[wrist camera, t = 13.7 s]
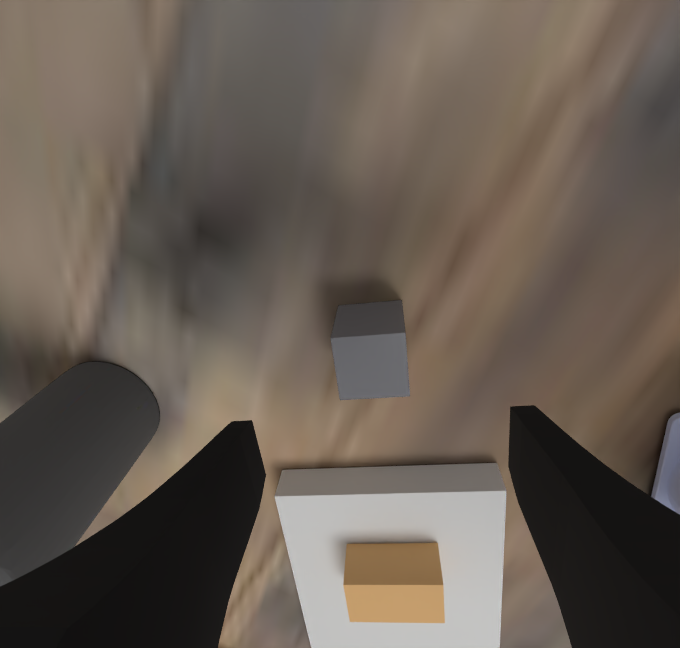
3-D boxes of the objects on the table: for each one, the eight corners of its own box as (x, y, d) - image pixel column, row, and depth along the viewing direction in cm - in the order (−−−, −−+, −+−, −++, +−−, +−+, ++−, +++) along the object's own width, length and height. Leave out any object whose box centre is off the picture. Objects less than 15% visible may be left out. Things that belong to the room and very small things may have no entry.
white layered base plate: (282, 469, 26) (274, 496, 24) (497, 462, 24) (506, 490, 22) (324, 656, 33) (320, 687, 31) (490, 660, 31) (497, 693, 30)
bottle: (181, 407, 24) (-72, 769, 11) (127, 463, 26) (-142, 825, 13) (90, 339, 23) (-331, 656, 9) (40, 404, 25) (-361, 738, 12)
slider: (346, 543, 25) (343, 584, 22) (437, 542, 24) (443, 584, 22) (352, 579, 26) (349, 622, 24) (439, 579, 25) (445, 623, 23)
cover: (477, 213, 19) (499, 236, 16) (476, 403, 23) (494, 457, 20) (255, 237, 21) (228, 263, 17) (292, 413, 25) (276, 465, 21)
